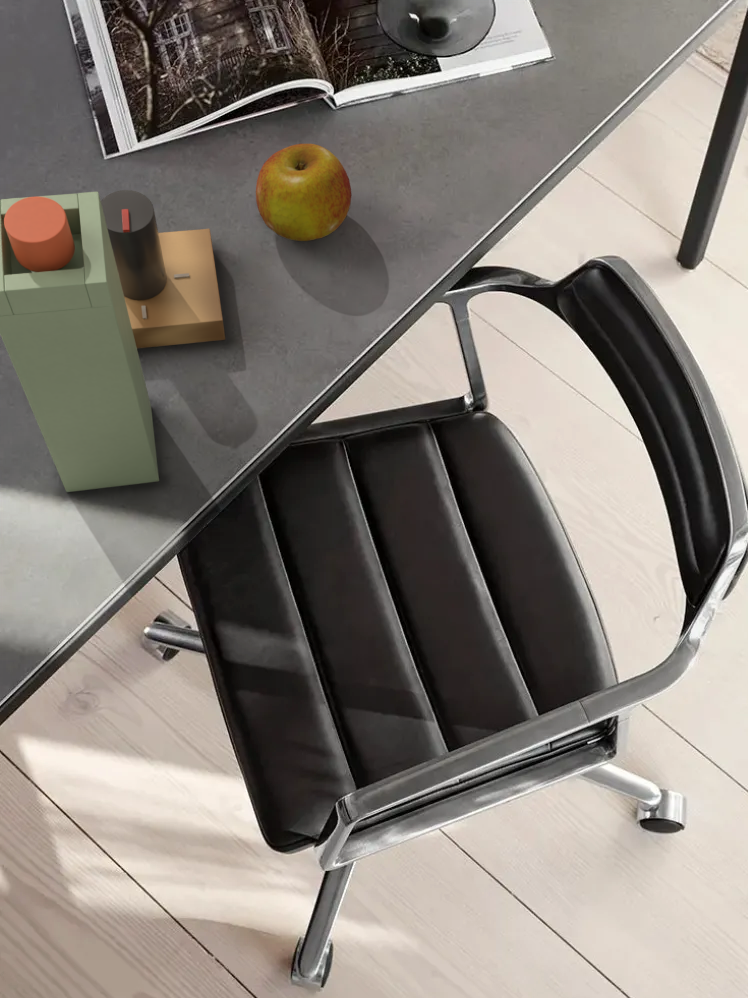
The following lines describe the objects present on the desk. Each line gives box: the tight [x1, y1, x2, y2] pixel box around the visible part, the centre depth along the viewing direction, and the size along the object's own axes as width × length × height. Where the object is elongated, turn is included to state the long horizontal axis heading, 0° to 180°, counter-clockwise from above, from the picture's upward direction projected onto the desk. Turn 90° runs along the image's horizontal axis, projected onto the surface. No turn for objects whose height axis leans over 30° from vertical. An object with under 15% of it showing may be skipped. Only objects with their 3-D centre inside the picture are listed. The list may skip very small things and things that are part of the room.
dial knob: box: [100, 189, 167, 300], centre depth 101 cm, size 5×5×9 cm
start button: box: [4, 196, 75, 272], centre depth 76 cm, size 4×4×3 cm
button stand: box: [0, 191, 160, 493], centre depth 89 cm, size 8×8×27 cm
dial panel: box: [124, 228, 226, 349], centre depth 106 cm, size 14×11×3 cm
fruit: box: [255, 143, 352, 242], centre depth 110 cm, size 10×9×8 cm
